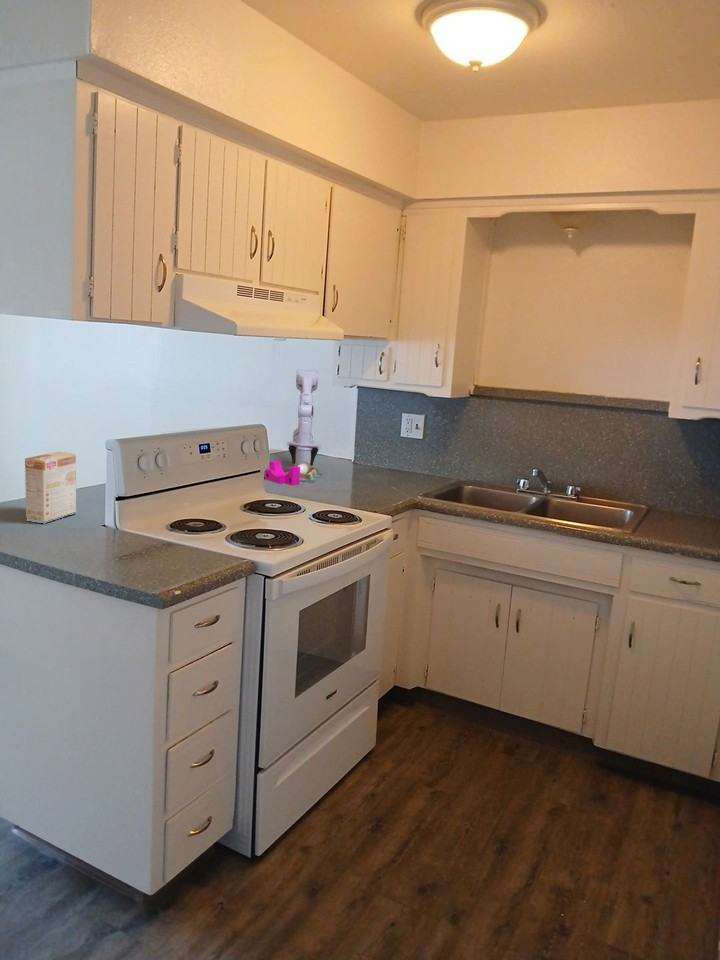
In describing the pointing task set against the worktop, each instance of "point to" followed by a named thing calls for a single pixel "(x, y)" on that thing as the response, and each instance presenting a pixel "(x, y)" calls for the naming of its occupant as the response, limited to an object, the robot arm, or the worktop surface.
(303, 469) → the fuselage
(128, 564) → the worktop surface
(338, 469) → the worktop surface
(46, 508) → the coffeecake box
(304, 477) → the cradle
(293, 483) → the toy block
